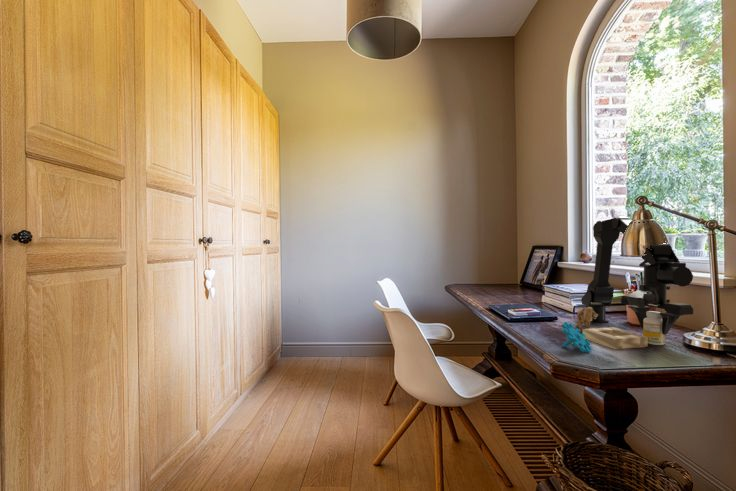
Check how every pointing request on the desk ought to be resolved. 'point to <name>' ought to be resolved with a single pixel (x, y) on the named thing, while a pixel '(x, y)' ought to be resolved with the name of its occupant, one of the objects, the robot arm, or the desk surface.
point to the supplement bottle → (653, 328)
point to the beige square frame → (615, 338)
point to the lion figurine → (585, 317)
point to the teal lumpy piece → (575, 338)
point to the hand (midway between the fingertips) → (653, 331)
